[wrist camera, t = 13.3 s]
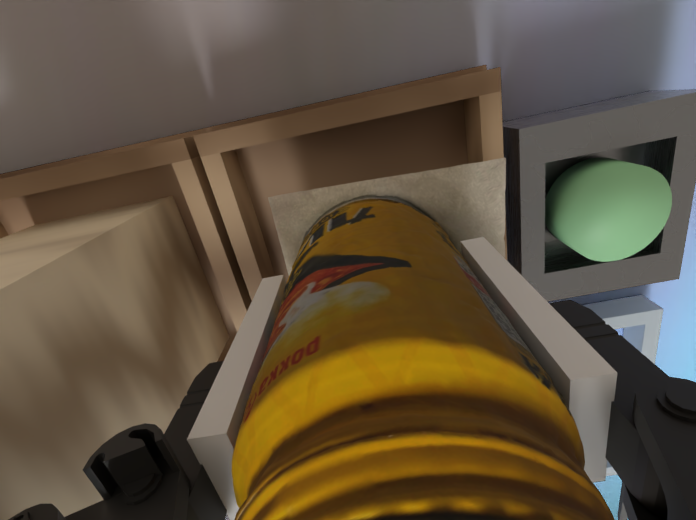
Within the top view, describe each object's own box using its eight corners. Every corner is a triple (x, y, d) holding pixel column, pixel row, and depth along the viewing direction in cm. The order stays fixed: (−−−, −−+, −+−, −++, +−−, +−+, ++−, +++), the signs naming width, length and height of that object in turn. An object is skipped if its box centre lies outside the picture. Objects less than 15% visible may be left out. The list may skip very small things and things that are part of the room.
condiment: (268, 195, 13) (-95, 637, 2) (504, 156, 13) (1435, 495, 2) (309, 355, 16) (230, 888, 5) (503, 329, 16) (865, 864, 5)
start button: (630, 235, 17) (664, 251, 15) (543, 251, 17) (566, 269, 16) (640, 148, 16) (679, 154, 14) (543, 168, 16) (569, 176, 14)
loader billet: (229, 337, 20) (86, 623, 9) (110, 357, 21) (-160, 652, 10) (172, 195, 17) (-151, 371, 6) (34, 225, 18) (-496, 435, 6)
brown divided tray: (491, 317, 21) (514, 352, 18) (103, 383, 23) (67, 425, 20) (476, 67, 16) (505, 59, 13) (-21, 179, 18) (-93, 194, 15)
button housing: (631, 253, 19) (678, 278, 17) (498, 277, 20) (522, 305, 17) (650, 90, 16) (711, 88, 14) (491, 124, 17) (519, 129, 14)
